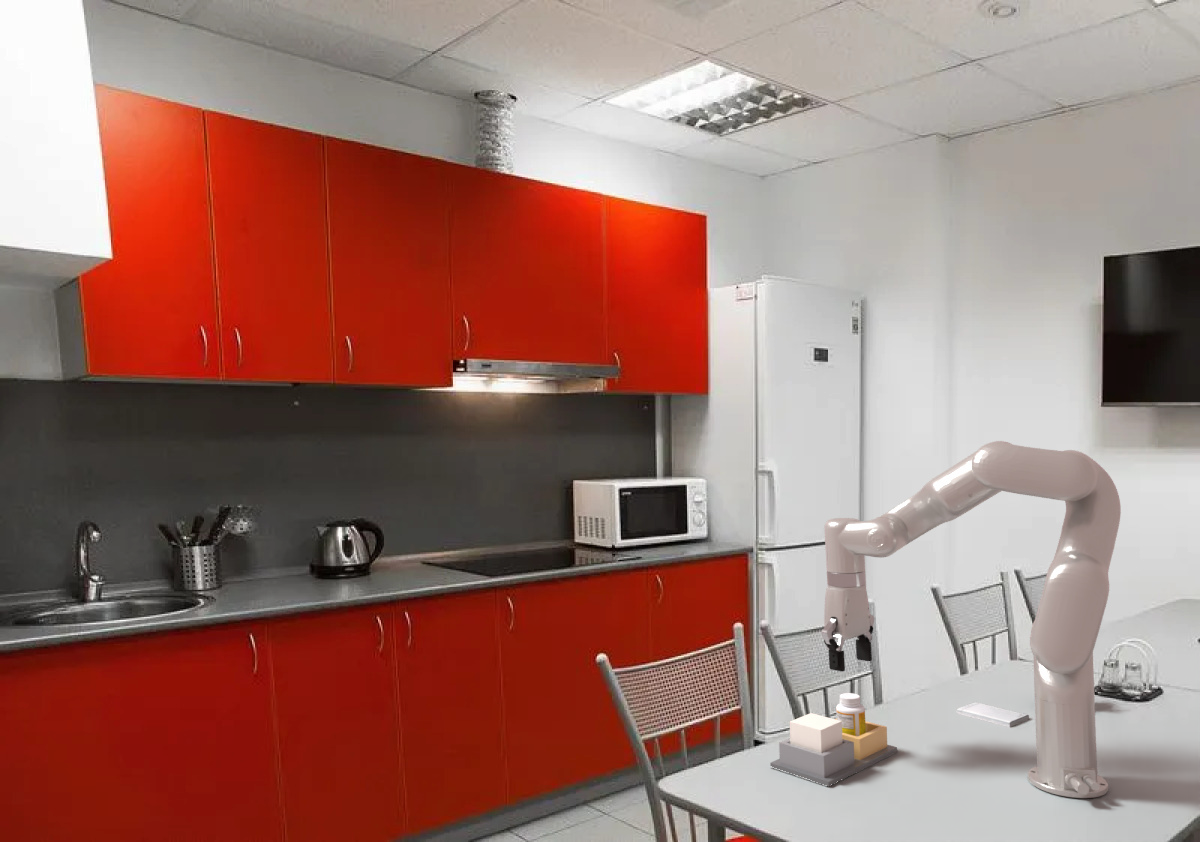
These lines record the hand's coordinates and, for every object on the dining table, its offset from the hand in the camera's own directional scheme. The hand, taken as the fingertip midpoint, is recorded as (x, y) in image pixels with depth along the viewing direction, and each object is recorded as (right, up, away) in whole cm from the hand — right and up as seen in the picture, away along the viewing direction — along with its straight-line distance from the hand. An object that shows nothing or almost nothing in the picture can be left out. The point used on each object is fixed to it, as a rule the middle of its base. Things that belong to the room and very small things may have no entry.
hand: (850, 665), depth 173 cm
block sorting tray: (-4, -18, -4) cm, 19 cm away
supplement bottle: (0, -17, 0) cm, 17 cm away
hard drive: (+37, -18, +19) cm, 45 cm away
